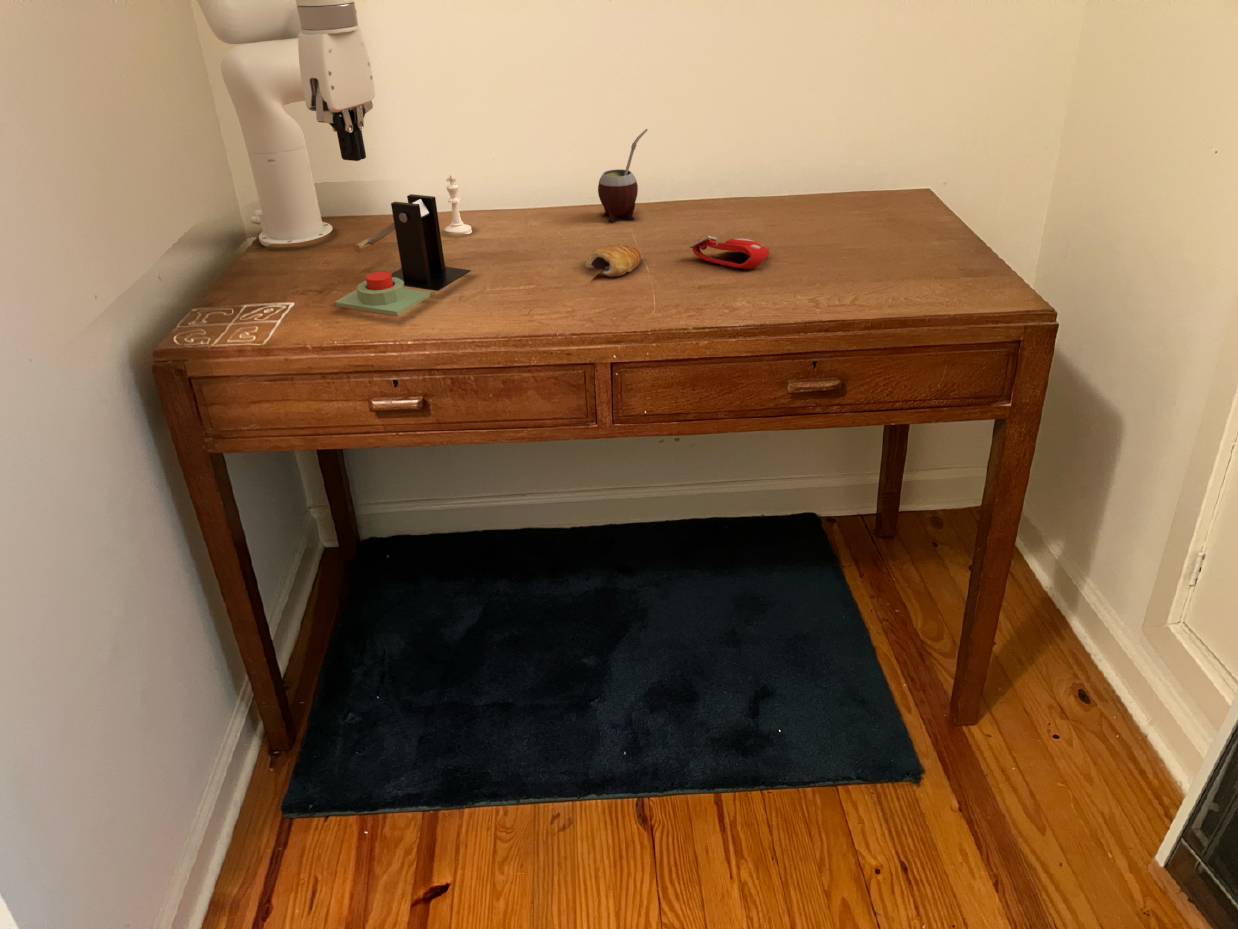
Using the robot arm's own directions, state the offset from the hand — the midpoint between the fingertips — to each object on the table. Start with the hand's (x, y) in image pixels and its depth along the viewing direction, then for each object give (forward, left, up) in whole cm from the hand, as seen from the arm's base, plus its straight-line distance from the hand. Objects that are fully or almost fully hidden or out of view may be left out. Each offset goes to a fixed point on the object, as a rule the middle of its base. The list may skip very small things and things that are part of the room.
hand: (354, 158), depth 132 cm
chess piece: (-1, +25, -19) cm, 31 cm away
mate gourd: (+23, +42, -19) cm, 51 cm away
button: (+8, -9, -15) cm, 19 cm away
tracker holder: (+49, +27, -19) cm, 59 cm away
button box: (+8, -9, -19) cm, 22 cm away
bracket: (+8, +2, -19) cm, 20 cm away
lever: (+4, +2, -11) cm, 12 cm away
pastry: (+33, +17, -19) cm, 41 cm away
